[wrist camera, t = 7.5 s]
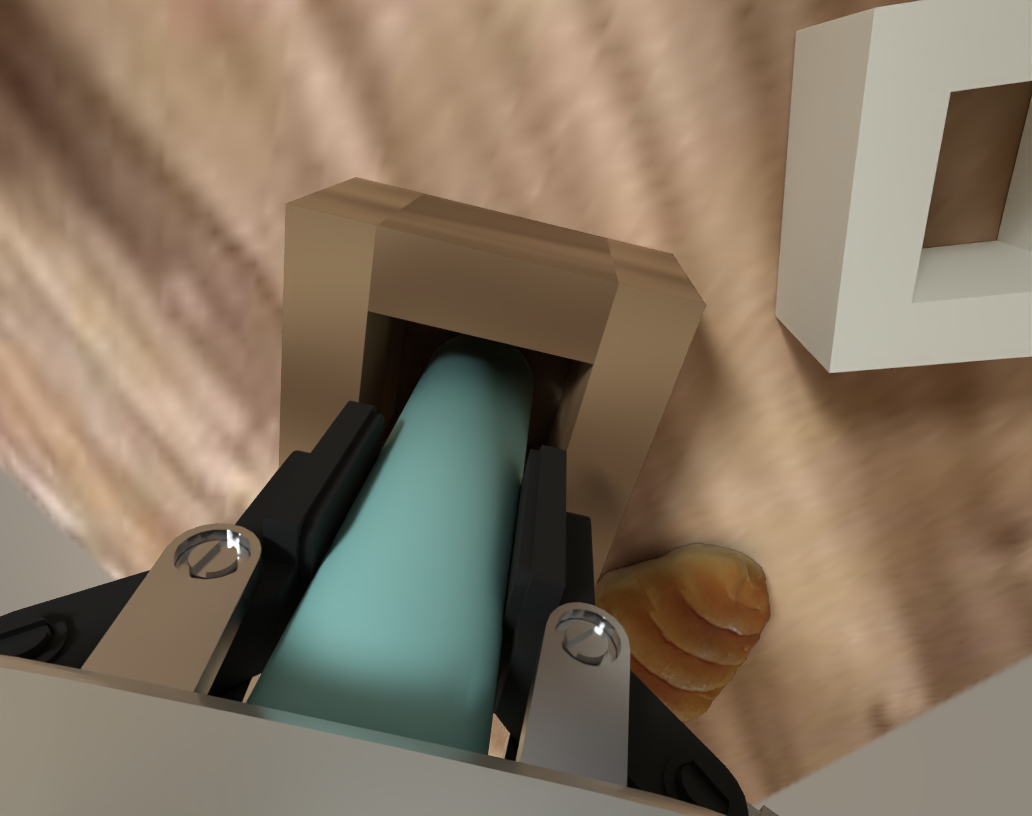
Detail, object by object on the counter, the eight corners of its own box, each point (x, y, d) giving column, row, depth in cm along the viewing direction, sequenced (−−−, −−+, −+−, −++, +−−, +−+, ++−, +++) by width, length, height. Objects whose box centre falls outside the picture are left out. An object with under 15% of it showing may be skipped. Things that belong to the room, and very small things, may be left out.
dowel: (432, 319, 16) (11, 993, 4) (547, 346, 16) (479, 1085, 4) (416, 419, 18) (78, 1124, 6) (521, 443, 18) (417, 1190, 6)
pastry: (671, 492, 20) (692, 570, 17) (805, 584, 22) (849, 673, 19) (513, 634, 24) (505, 721, 21) (636, 704, 26) (647, 795, 22)
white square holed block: (796, 30, 14) (874, 7, 10) (1133, -23, 13) (1349, -68, 9) (774, 315, 17) (829, 372, 13) (1043, 289, 16) (1178, 344, 12)
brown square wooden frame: (355, 176, 16) (286, 203, 12) (672, 254, 16) (705, 304, 12) (334, 447, 20) (277, 532, 16) (585, 504, 21) (589, 601, 17)
